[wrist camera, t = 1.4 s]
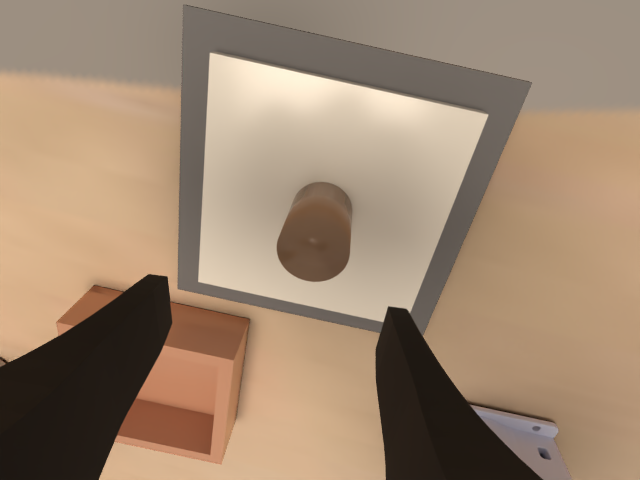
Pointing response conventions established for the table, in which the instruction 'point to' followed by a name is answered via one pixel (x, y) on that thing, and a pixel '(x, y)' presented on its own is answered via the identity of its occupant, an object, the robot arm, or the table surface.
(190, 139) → the mat
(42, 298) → the table surface
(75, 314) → the open box
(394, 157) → the lid
